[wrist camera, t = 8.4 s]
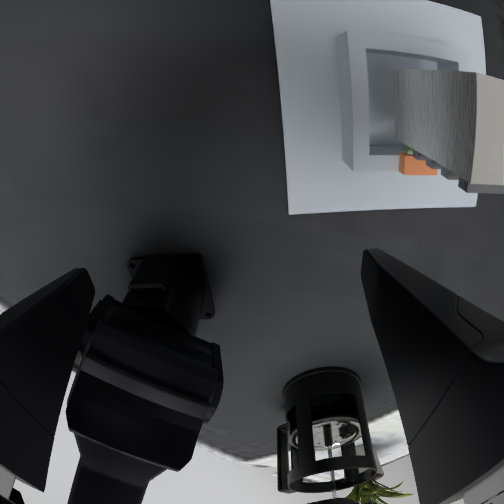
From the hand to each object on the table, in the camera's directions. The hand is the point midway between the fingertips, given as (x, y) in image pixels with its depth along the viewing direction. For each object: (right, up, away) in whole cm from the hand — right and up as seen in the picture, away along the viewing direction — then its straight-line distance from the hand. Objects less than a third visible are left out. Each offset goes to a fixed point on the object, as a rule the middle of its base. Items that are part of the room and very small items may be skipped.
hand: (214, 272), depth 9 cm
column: (+11, +9, +5) cm, 15 cm away
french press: (+9, -16, +25) cm, 31 cm away
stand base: (+11, +11, +8) cm, 17 cm away
